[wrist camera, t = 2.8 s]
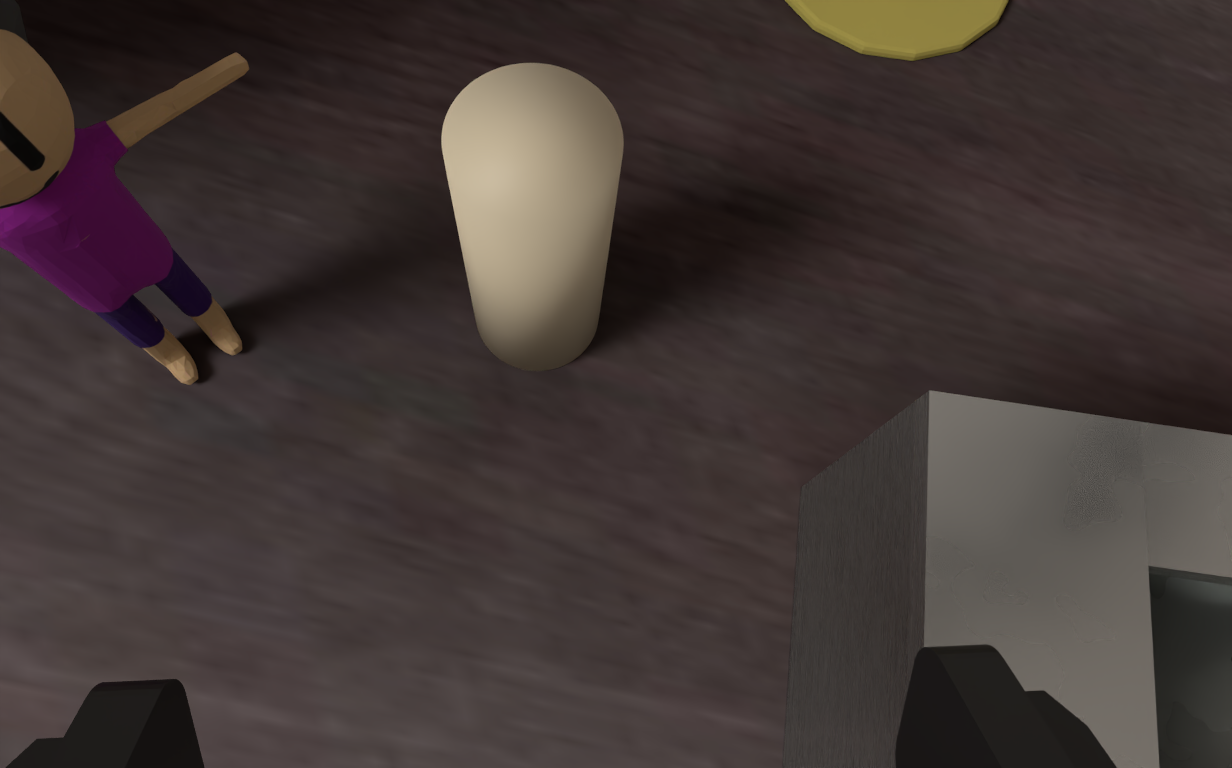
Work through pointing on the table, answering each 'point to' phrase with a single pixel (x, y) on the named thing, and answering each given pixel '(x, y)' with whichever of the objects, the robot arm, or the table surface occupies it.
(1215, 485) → the white hollow block
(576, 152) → the capsule
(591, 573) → the table surface
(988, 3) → the candle
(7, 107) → the toy
